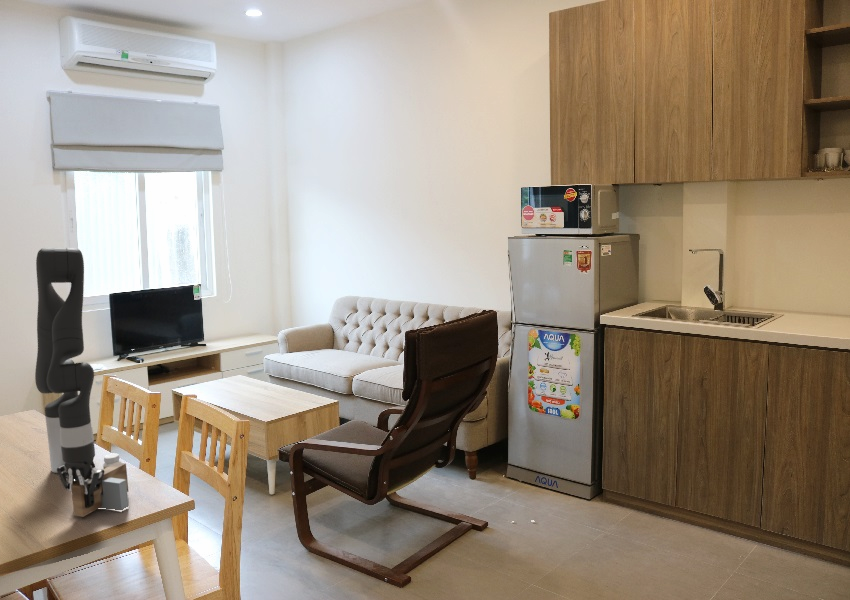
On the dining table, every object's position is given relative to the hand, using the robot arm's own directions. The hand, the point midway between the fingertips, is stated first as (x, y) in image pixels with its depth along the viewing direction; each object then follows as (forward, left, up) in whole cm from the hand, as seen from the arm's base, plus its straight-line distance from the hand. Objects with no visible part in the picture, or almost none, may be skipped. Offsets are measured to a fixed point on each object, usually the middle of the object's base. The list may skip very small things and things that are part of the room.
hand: (83, 505), depth 184 cm
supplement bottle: (-20, +8, -3) cm, 21 cm away
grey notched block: (-4, +4, -3) cm, 7 cm away
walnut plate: (-4, +4, -2) cm, 6 cm away
